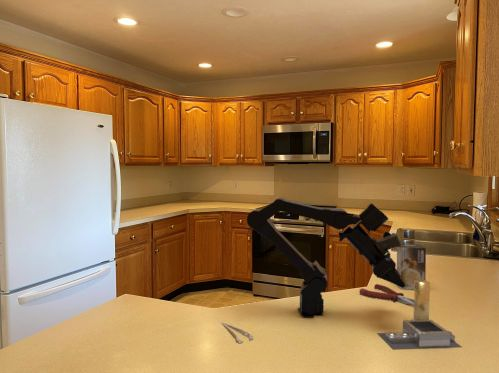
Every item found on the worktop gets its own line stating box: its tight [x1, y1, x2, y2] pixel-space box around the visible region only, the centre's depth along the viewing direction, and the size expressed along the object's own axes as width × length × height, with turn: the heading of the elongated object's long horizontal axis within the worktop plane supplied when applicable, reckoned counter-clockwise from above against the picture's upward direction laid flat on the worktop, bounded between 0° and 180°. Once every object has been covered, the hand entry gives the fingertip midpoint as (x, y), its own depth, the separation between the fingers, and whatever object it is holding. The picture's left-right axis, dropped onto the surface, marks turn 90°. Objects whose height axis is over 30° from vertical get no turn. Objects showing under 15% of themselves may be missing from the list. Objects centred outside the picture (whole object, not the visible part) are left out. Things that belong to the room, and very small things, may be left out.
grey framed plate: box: [385, 319, 456, 348], centre depth 93 cm, size 17×8×4 cm, turn 95°
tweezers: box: [219, 321, 254, 344], centre depth 100 cm, size 17×5×2 cm, turn 33°
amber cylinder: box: [413, 280, 431, 320], centre depth 104 cm, size 4×4×12 cm
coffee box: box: [396, 243, 427, 291], centre depth 138 cm, size 9×6×16 cm
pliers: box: [359, 283, 414, 307], centre depth 126 cm, size 12×20×3 cm, turn 37°
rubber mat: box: [376, 332, 463, 351], centre depth 93 cm, size 18×9×1 cm, turn 95°
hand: (401, 281), depth 105 cm, fingers open, 9 cm apart
